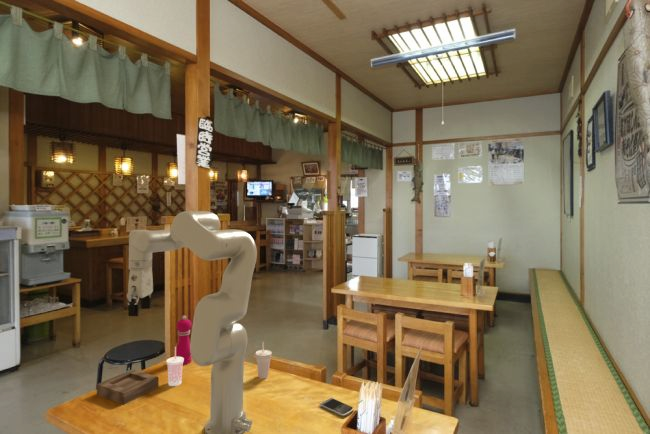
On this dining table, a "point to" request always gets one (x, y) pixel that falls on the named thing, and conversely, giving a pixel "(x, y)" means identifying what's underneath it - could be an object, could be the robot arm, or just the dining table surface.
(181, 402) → the dining table surface
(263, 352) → the smoothie
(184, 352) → the pepper mill
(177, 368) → the beverage cup
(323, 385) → the dining table surface
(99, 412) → the dining table surface
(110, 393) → the walnut tray
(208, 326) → the robot arm
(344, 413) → the cell phone
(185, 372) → the dining table surface
